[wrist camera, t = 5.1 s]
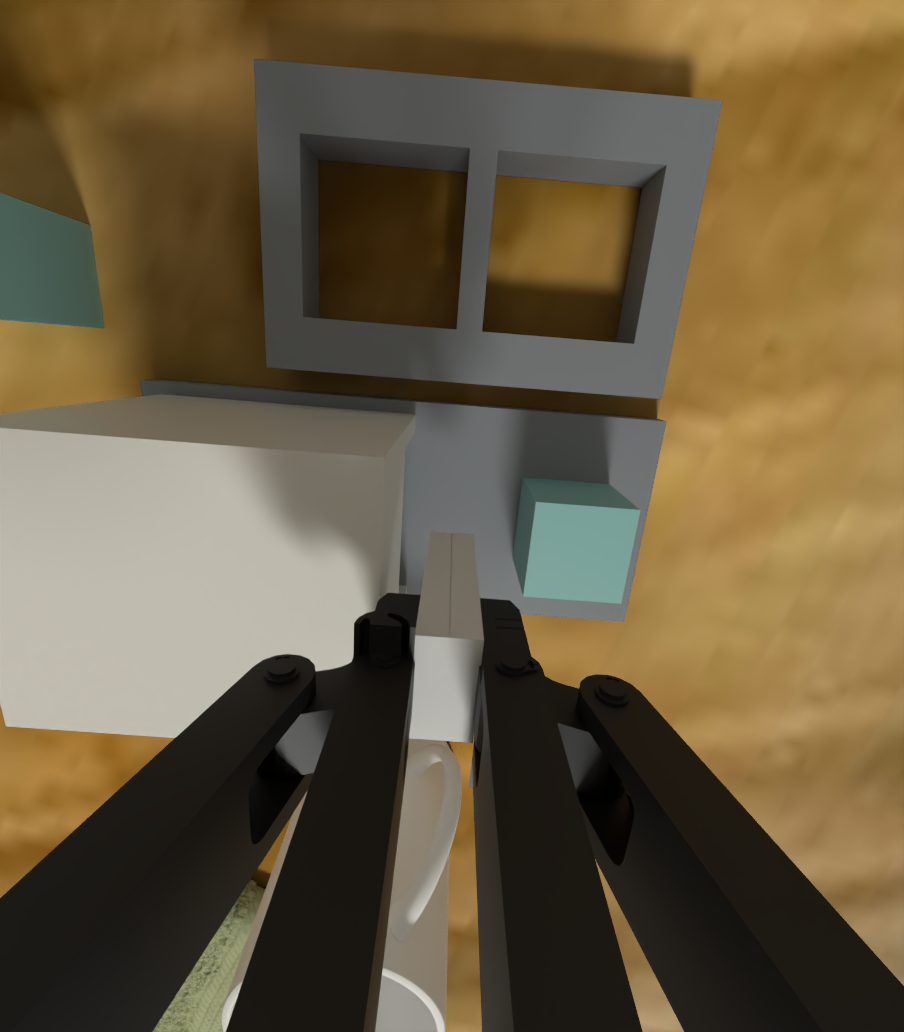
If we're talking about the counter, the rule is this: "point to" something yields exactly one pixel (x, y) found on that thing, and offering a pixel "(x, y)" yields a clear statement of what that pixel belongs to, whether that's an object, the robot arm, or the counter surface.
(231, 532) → the cover
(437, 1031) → the mug
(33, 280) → the peg
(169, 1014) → the washcloth
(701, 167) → the socket board
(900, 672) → the counter surface
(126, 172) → the counter surface
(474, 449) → the board
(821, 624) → the counter surface
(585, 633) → the counter surface
